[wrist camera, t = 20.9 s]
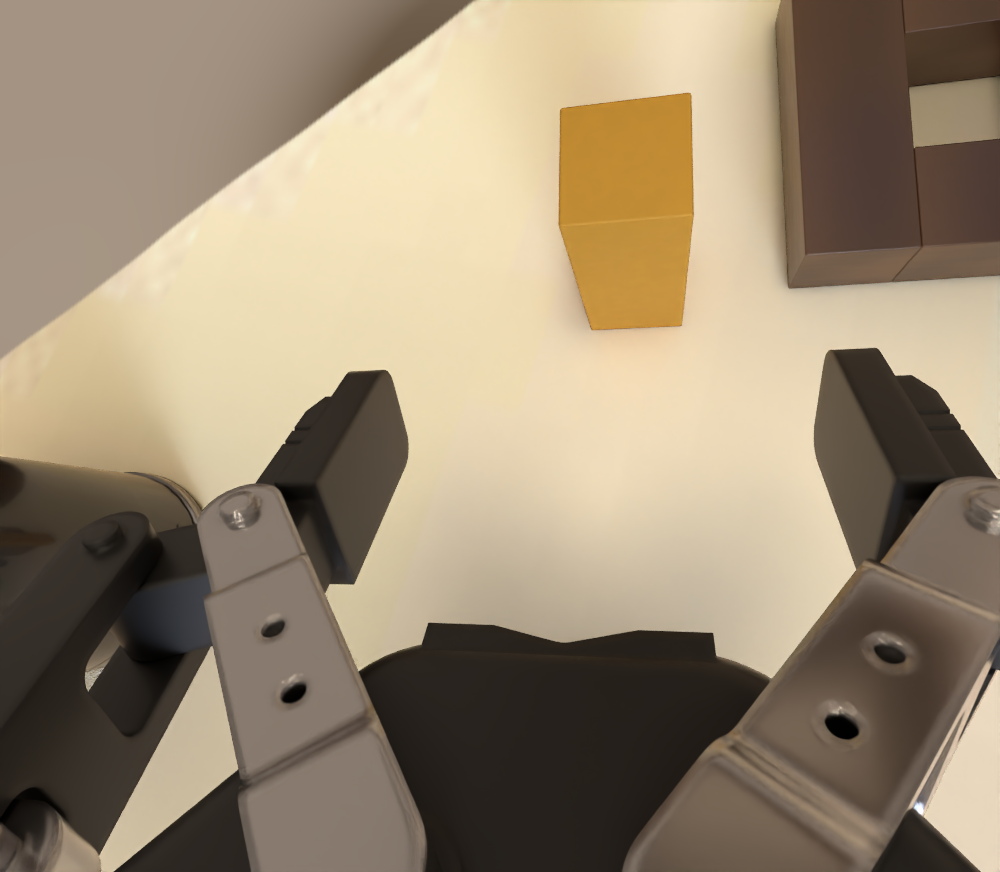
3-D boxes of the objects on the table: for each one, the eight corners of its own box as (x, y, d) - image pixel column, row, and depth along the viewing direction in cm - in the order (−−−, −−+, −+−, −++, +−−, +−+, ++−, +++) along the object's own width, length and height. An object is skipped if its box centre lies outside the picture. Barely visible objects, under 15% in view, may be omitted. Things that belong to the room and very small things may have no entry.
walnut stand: (788, 288, 29) (805, 255, 26) (775, 22, 31) (789, -41, 28) (1141, 266, 26) (1212, 226, 23) (1102, -25, 28) (1162, -102, 25)
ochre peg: (591, 330, 31) (558, 226, 21) (591, 247, 31) (559, 107, 21) (681, 326, 30) (693, 215, 20) (680, 240, 30) (691, 91, 20)
